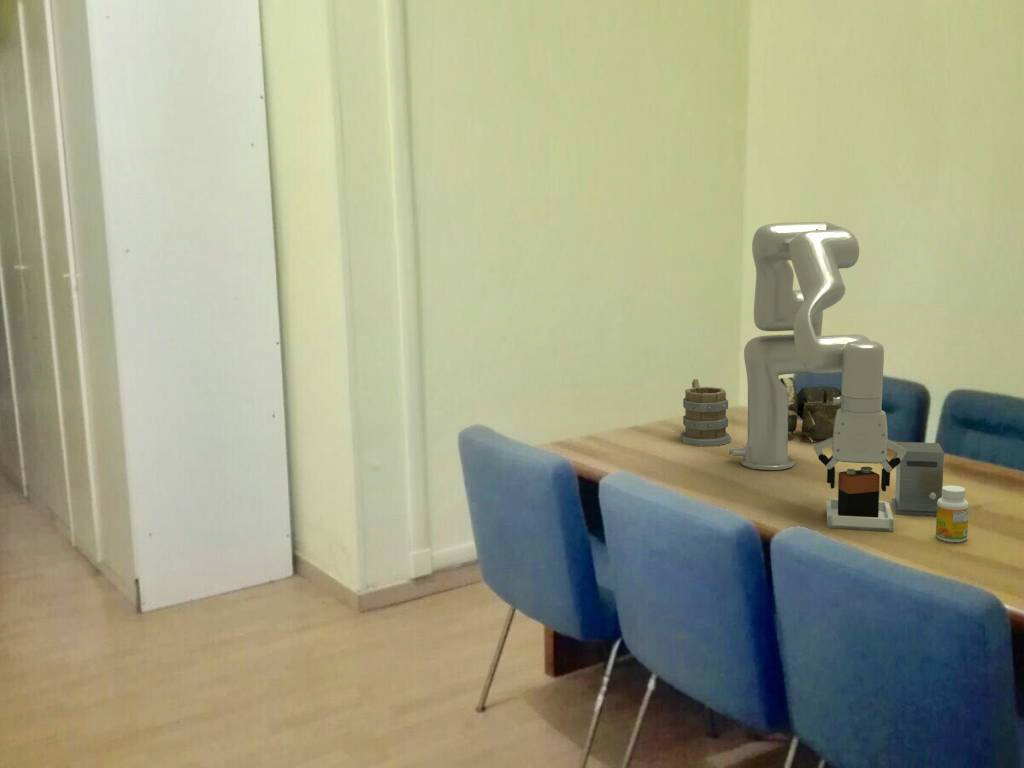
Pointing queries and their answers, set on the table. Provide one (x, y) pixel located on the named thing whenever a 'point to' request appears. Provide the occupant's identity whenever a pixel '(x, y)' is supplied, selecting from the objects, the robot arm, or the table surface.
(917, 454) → the control box
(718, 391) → the tankard
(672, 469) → the table surface
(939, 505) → the supplement bottle
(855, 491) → the battery
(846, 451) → the robot arm
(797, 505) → the table surface
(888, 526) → the tray
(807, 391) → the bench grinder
